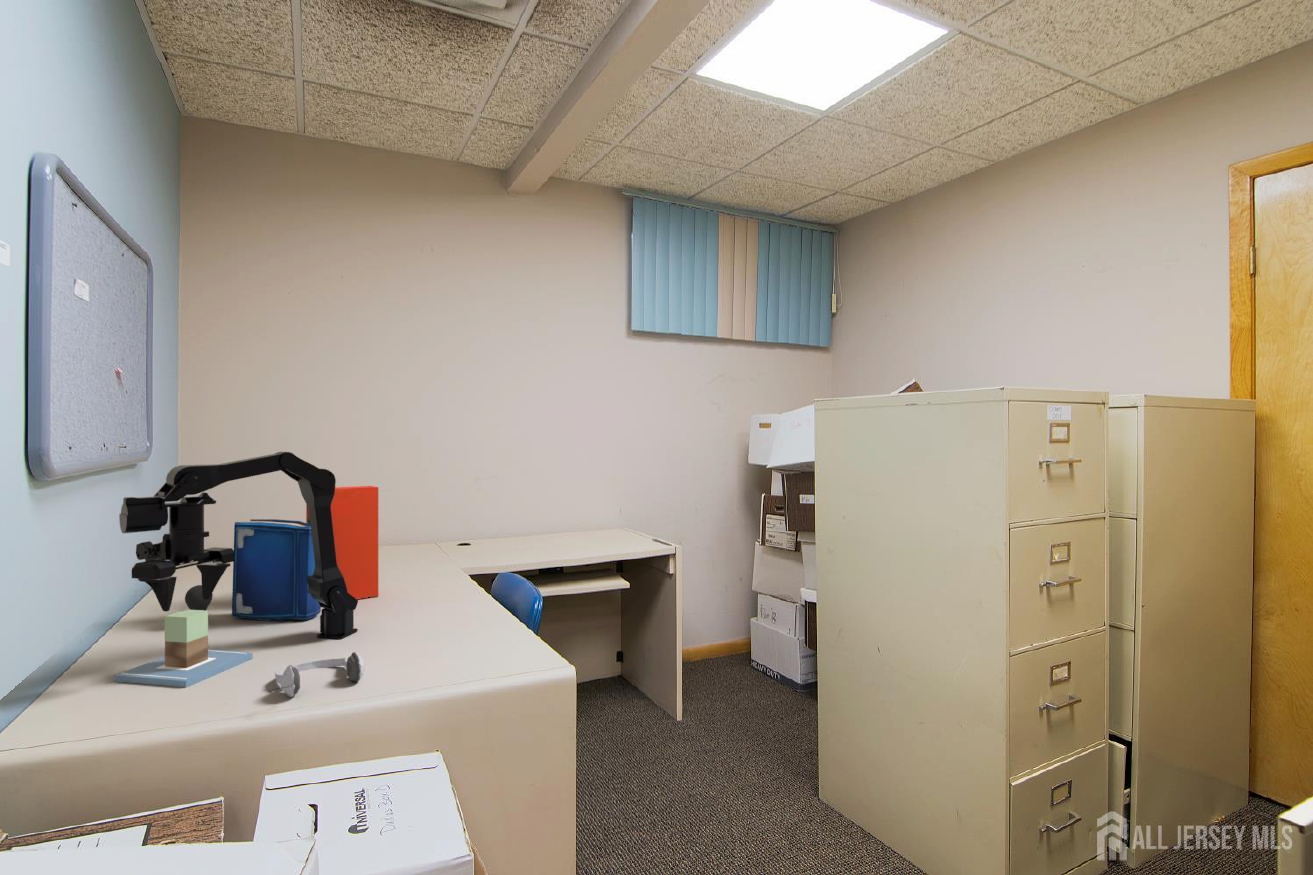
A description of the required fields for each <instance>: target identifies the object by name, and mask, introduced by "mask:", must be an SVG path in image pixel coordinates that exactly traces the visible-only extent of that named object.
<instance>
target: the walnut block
mask: <svg viewBox="0 0 1313 875" xmlns="http://www.w3.org/2000/svg"><path fill="white" fill-rule="evenodd" d="M208 650H209V634H208V635H207V636H204V637H201V638H198V639H196V640H193V641H190V642H187V643H183V642H167V641H165V640H164V657H165V666H167V667H180V668H188V667H190V666H193V665H195V664H198V663H200V662H203V661H205V660H208Z"/></svg>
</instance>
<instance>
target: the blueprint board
mask: <svg viewBox="0 0 1313 875" xmlns="http://www.w3.org/2000/svg"><path fill="white" fill-rule="evenodd" d="M253 658H254V656H253V652H248V651H247V652H246V651H245V652H244V651H233V650H220V649H208V660H205V661H203V662H200V663H198V664H195V665H193V666H190V667H188V668H180V667H167V666H165V656H162V657H160V658H159V657H158V658H157V659H153V660H152V661H149V662H146V663H144V664H141V665H138V666H135V667H132V668H130V669H127V670H123V671H122V672H119V673H116V674H114V675H113V681H114V682H117V683H128V682H130V684H140V685H141V684H144V685H151V686H152V685H154V686H165V687H176V688H177V687H178V688H187V687H191V686H192V685H194V684H197V683H200V682H202V681H204V680H207V679H208V678H211V677H213V676H215V675H218V674H221V673H222V672H224V671H227V670H230V669H231V668H234V667H236V666H238V665H240V664H242V663H245V662H247V661H250V660H252V659H253Z"/></svg>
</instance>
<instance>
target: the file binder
mask: <svg viewBox="0 0 1313 875" xmlns="http://www.w3.org/2000/svg"><path fill="white" fill-rule="evenodd" d="M305 505H306V507H305V510H306V513H305V515H306V519H305V520H306V522H305V523H307V524H310V515H309V508H308V506H307V504H306V503H305ZM331 513H332V522H333V531H334V541H335V550H336V559H337V565H338V568H339V569H340V571H341V573H342V575H343V577H344V580H345V583H346V586H347V590H348V593H349V594H350V595H352V596H353V597H354V598H356V599H357V600H362V598H364V599H369V598H368V597H370V598H376V596H377V597H379V487H378V486H374V485H360V486H359V485H358V486H357V485H356V486H340V487H339V486H335V495H334V498H333V501H332V504H331Z"/></svg>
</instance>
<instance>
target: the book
mask: <svg viewBox="0 0 1313 875" xmlns="http://www.w3.org/2000/svg"><path fill="white" fill-rule="evenodd" d="M233 527H234V528H233V530H234V532H233V550H234V552H235V561H233V564H232V566H233V567H232V571H233V572H232V595H231V596H232V597H231V598H232V600H231V602H232V603H231V617H233V618H239V619H246V620H248V619H249V620H254V621H255V620H256V621H274V622H275V621H278V622H280V621H281V622H284V621H290V620H299V621H306V620H310V619H314V618H315V617H316V616H317V615H319V614H320V613H322V607H320V606H319V603H318V601H316V600H314V599H313V598H312V596H311V594H310V593H308V592H307V591H308V582H307V576H311V575H313V573H314V570H315V560H314V551H313V542H312V533H311V524H307V523H306V522H303V521H300V520H290V519H289V520H288V519H278V518H277V519H276V518H275V519H274V518H271V519H270V518H269V519H264V518H263V519H260V518H259V519H255V518H253V519H250V520H242V521H240V522H239V521H237V522H236V521H235V522H234V526H233Z"/></svg>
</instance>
